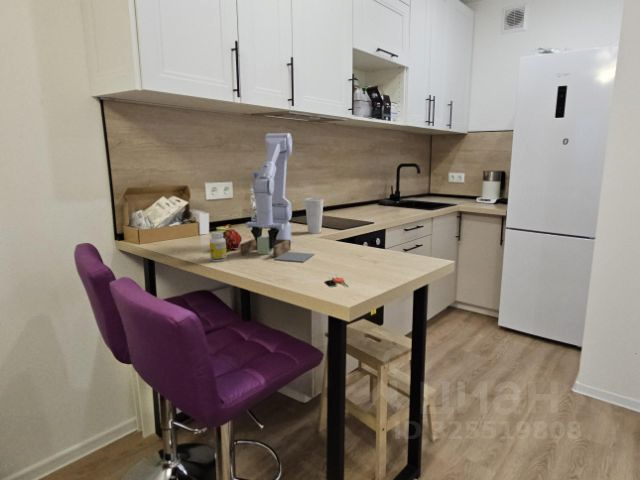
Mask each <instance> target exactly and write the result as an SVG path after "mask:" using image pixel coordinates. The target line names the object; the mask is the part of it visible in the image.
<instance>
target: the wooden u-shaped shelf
mask: <svg viewBox="0 0 640 480" xmlns="http://www.w3.org/2000/svg"><path fill="white" fill-rule="evenodd" d="M239 246H240V255H241V256H245V255H247V254H249V253H252V252H254V251H255V250H258V247H257V243H256V240H255V238H254V237H253V238H252V239H250V240H248V241H244V242H243V243H242V242H241V243H240V244H239ZM291 248H292V247H291V242H290V240H286V239H276V240H275V244H274V247H273V258H274V259H275V258H276V257H278V256H280V255H282V254H283V253H285V252H291Z"/></svg>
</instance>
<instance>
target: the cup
mask: <svg viewBox="0 0 640 480" xmlns="http://www.w3.org/2000/svg"><path fill="white" fill-rule="evenodd" d="M304 203H305V212H306V213H305V214H306V223H307V232H308V233H309V234H320V233H321V232H322V225H323V224H322V223H323V211H324V209H323V208H324V198H320V197H309V198H305V199H304Z"/></svg>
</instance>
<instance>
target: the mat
mask: <svg viewBox="0 0 640 480" xmlns="http://www.w3.org/2000/svg"><path fill="white" fill-rule="evenodd" d="M314 256H315V253H307V252H306V253H305V252H293V251H288V252H285V253H283V254H282V255H280V256H278V257H276V258H274V259H273V261H280V262H294V263H305V262H306V261H308V260H309V259H310V258H312V257H314Z"/></svg>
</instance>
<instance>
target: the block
mask: <svg viewBox="0 0 640 480" xmlns="http://www.w3.org/2000/svg"><path fill="white" fill-rule="evenodd" d="M257 247H258V249H257V254H258V255H270V254H272V253H273V248H272V249H270V241H269V235H263V234H262V236H260V237H258V238H257ZM273 254H274V253H273Z"/></svg>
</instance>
